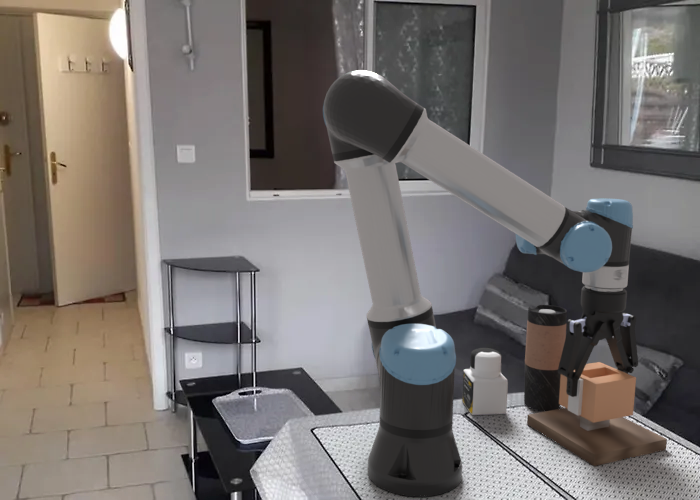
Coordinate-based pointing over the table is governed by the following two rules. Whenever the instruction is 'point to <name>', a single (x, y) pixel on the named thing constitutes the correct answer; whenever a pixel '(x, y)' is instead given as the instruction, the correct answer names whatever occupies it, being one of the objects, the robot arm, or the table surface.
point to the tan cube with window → (603, 393)
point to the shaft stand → (597, 436)
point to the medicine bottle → (485, 383)
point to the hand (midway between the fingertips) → (595, 408)
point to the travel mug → (544, 356)
